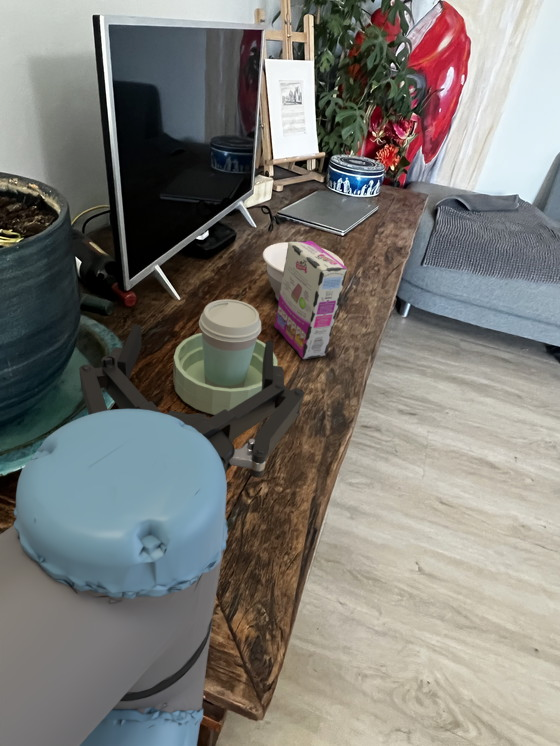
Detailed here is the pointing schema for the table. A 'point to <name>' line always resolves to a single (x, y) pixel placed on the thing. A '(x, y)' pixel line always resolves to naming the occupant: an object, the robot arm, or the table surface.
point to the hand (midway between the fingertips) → (203, 343)
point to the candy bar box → (309, 298)
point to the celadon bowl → (205, 396)
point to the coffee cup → (228, 341)
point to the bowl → (280, 264)
